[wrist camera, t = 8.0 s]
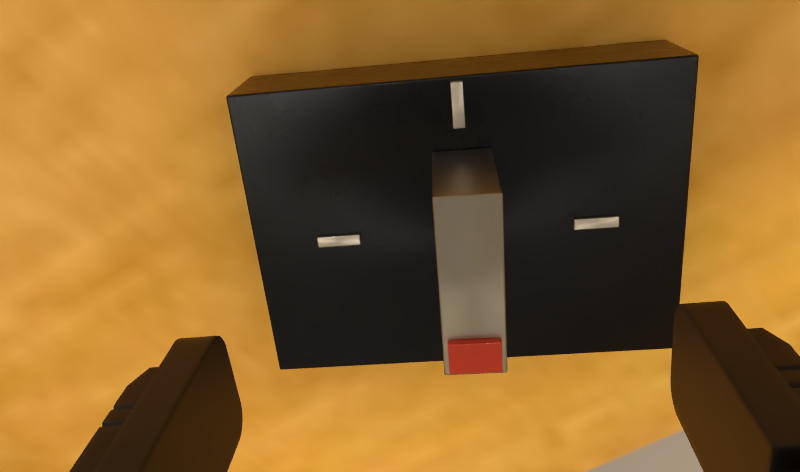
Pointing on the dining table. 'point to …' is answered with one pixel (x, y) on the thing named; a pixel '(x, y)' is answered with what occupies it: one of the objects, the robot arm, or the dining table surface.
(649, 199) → the panel
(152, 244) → the dining table surface
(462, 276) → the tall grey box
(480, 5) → the dining table surface
